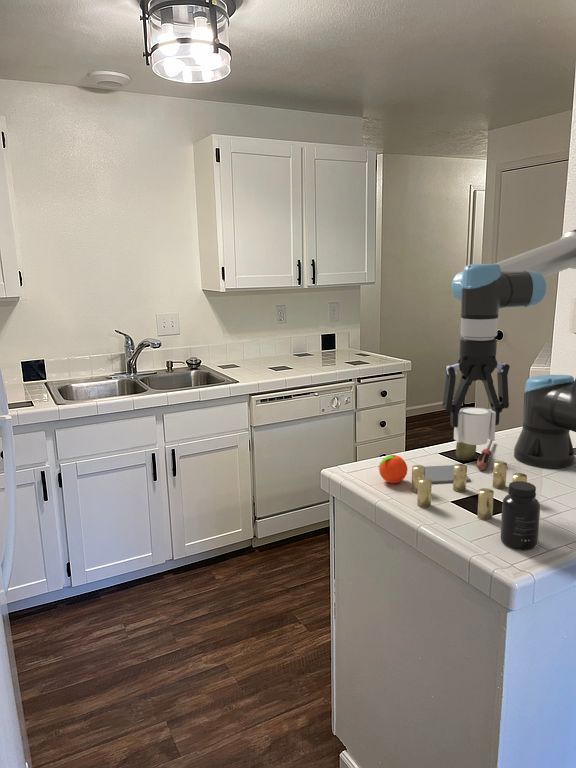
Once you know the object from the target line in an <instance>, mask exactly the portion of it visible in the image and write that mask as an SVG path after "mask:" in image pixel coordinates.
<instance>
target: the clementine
mask: <svg viewBox="0 0 576 768" xmlns="http://www.w3.org/2000/svg"><path fill="white" fill-rule="evenodd" d="M378 471H379V475H380V477H381V478H382V479H383V480H384V481H385V482H386V483H390V484H397V483H400V482H402V481H404V479H405V478H406V476H407V474H408V464H407V463H406V461H405V460H404V459H403V458H402V457H401V456H399V455H396V454H390V455H387V456H385V457H383V459H382V460H381V461H380V463H379V466H378Z"/></svg>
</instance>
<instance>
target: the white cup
mask: <svg viewBox="0 0 576 768" xmlns="http://www.w3.org/2000/svg"><path fill="white" fill-rule="evenodd" d="M488 409H489V408H484V407H474V406H473V407H471V406H470V407H463V408H462V407H461V409H460V411H459V412H460V413H462V414H463V417H462V442H463V443H466V444H470V445H476V446H481V445H482V446H483V445H485V444H488V440H489V439H488V433H489V426H490V419H491V411H490V410H488Z"/></svg>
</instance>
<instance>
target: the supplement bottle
mask: <svg viewBox="0 0 576 768" xmlns="http://www.w3.org/2000/svg"><path fill="white" fill-rule="evenodd" d="M536 492H537V487H536V485H534V484H532V483H531V482H528V481H527V482H523V481H515V482H510V483H509V484H508V491H507V495H506V496H504V497H503V499H502V502H501V503H502V505H501V517H500V518H501V519H500V520H501V522H500V541H501V543H502V544H504V546H506V547H508V548H510V549H513V550H517V551H530V550H533V549H535V548H536V547H537V545H538V544H539V543H538V542H539V529H540V517H541V516H540V515H541V514H540V513H541V504H540V502H539V500H538V499H537V498H536V496H537V493H536Z"/></svg>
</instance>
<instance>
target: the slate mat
mask: <svg viewBox="0 0 576 768" xmlns="http://www.w3.org/2000/svg"><path fill="white" fill-rule="evenodd" d="M454 465H455V464H452V465H451V464H450V465H446V464H445V465H433V466H431V465H430V466H424V467H425V478H428V479H431V480H432V485H433V484H447V483H451V484H453V476H454ZM467 482H469V483H470V482H471V478H470V477H469V475H467V479H466V483H467Z"/></svg>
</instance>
